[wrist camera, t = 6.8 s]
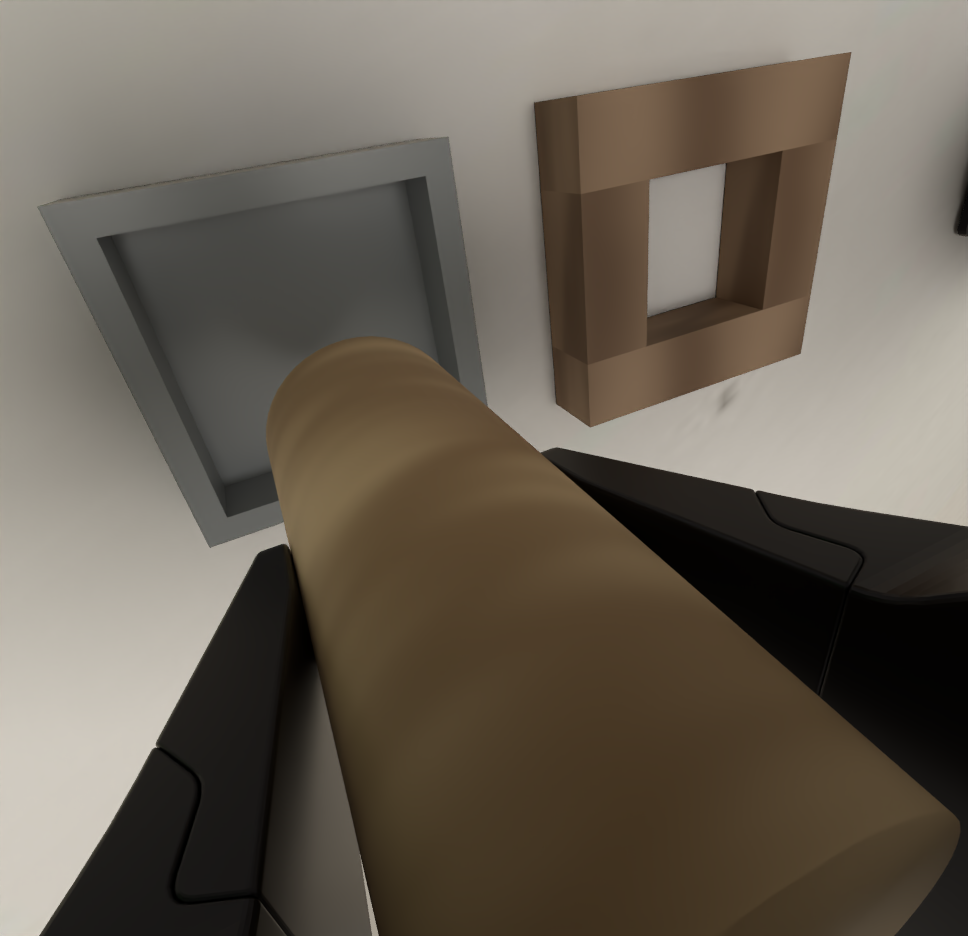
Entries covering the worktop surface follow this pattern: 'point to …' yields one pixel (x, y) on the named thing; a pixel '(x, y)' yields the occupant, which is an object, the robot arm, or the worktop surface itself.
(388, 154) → the tray
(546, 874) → the dowel
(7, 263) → the worktop surface
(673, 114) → the square wooden frame
